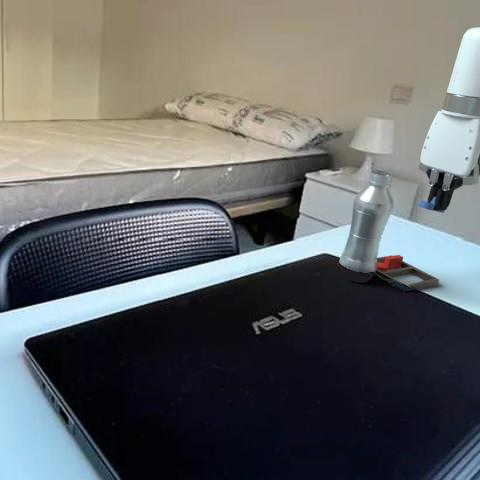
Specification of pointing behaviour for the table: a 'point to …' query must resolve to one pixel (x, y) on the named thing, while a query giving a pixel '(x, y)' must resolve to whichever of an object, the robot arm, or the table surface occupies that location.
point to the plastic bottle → (368, 223)
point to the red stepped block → (390, 263)
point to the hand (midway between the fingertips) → (436, 208)
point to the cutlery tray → (409, 269)
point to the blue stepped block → (429, 205)
